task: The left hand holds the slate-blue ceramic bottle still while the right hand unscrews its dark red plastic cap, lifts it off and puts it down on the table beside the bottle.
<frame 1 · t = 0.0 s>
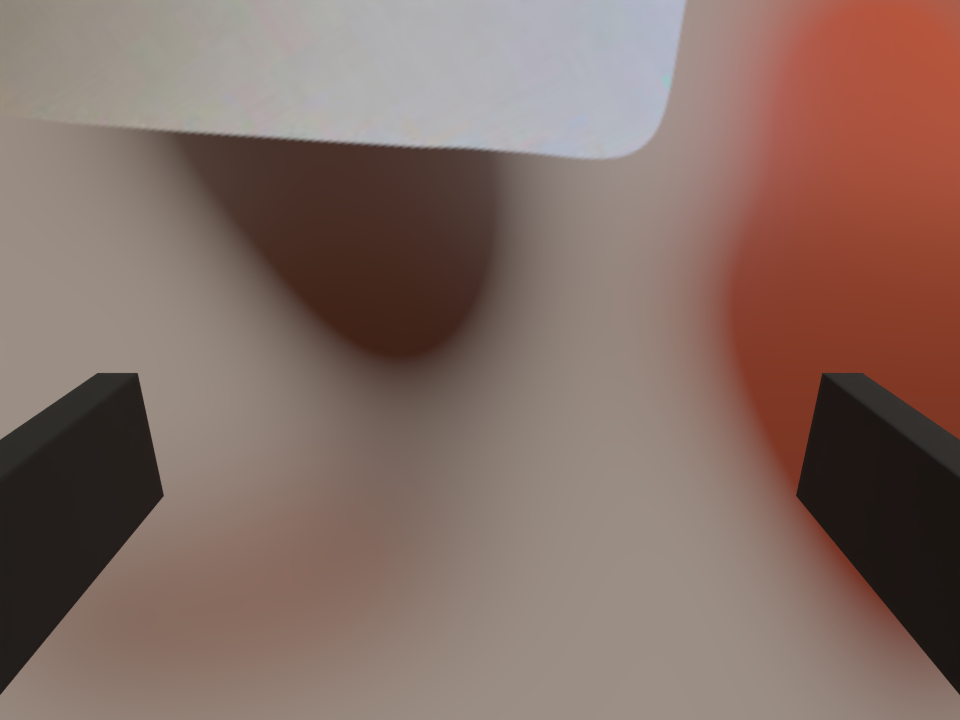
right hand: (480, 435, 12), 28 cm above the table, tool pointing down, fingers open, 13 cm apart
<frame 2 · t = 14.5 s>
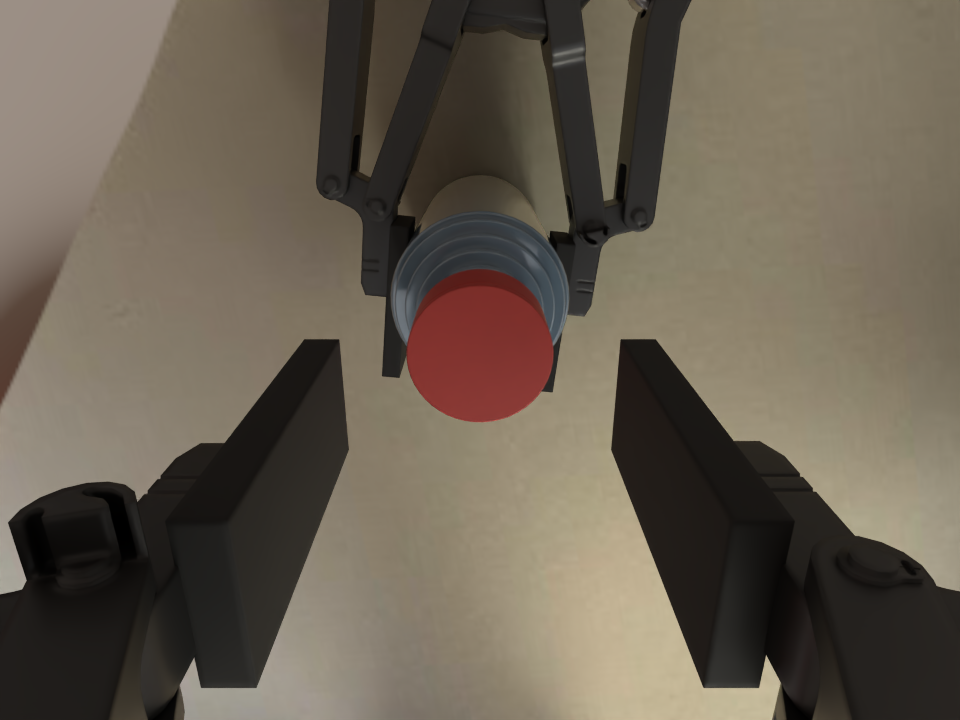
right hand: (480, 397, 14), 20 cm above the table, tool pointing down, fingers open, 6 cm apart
left hand: (468, 371, 29), fingers closed on bottle, 6 cm apart
bottle: (479, 235, 33), on the table, touching left hand
cap: (479, 352, 17), point 17 cm above the table, screwed on, not yet turned
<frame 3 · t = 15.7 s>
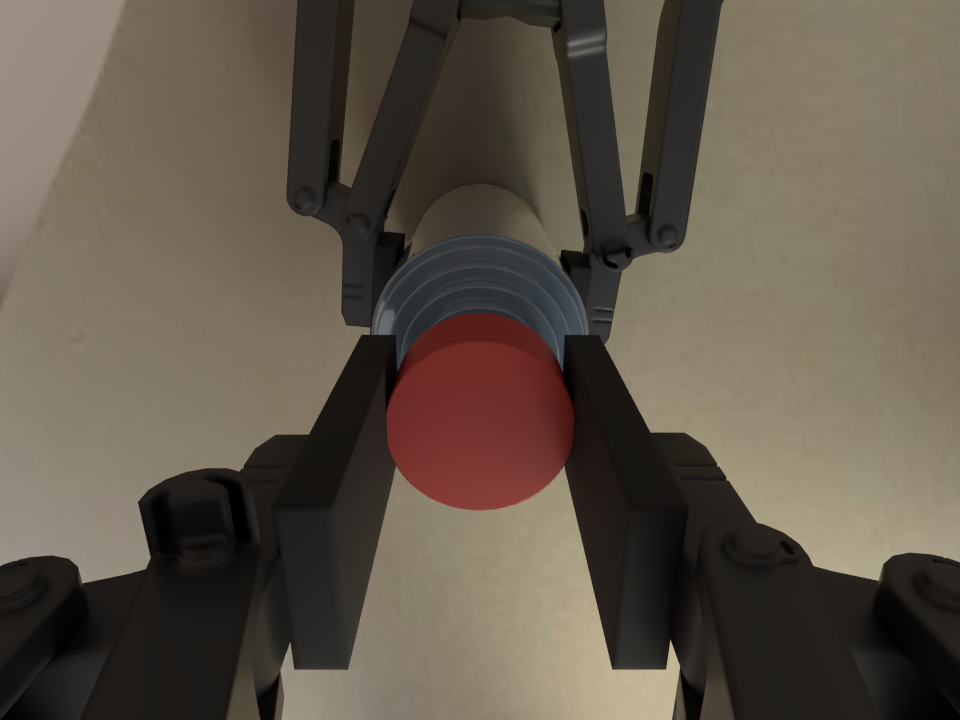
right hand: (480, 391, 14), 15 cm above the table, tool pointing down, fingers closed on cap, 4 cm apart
left hand: (466, 410, 25), fingers closed on bottle, 6 cm apart
bottle: (480, 251, 29), on the table, touching left hand
cap: (480, 423, 13), point 17 cm above the table, screwed on, not yet turned, touching right hand
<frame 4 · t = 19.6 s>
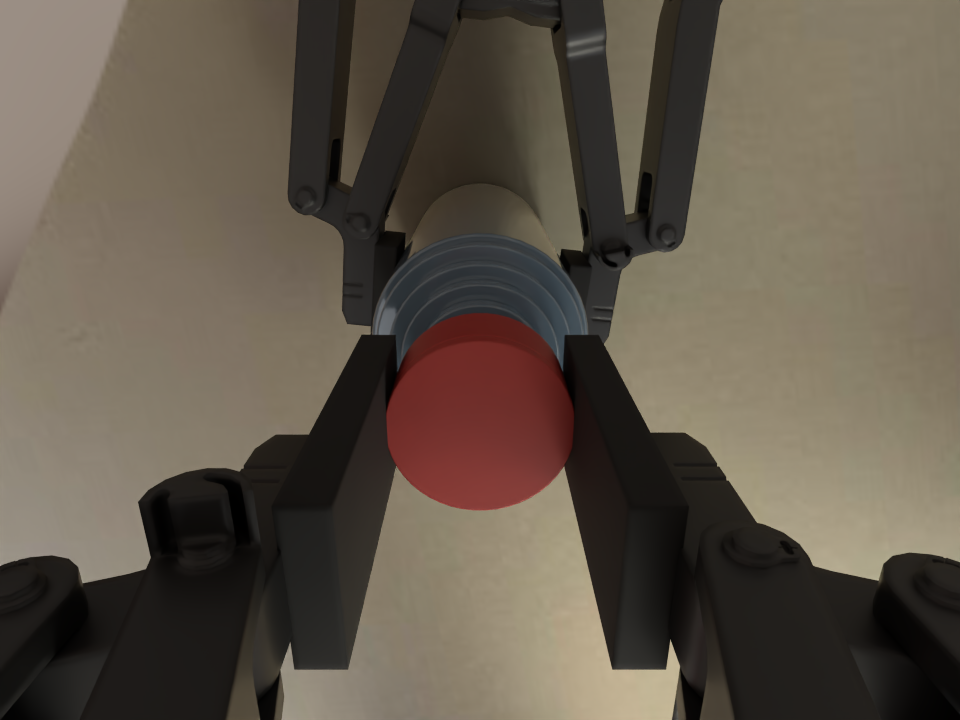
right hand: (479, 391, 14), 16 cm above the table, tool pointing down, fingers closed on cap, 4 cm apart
left hand: (466, 409, 25), fingers closed on bottle, 6 cm apart
bottle: (480, 250, 29), on the table, touching left hand
cap: (480, 423, 13), point 17 cm above the table, turned 136° so far, risen 0.1 cm, still on its thread, touching right hand
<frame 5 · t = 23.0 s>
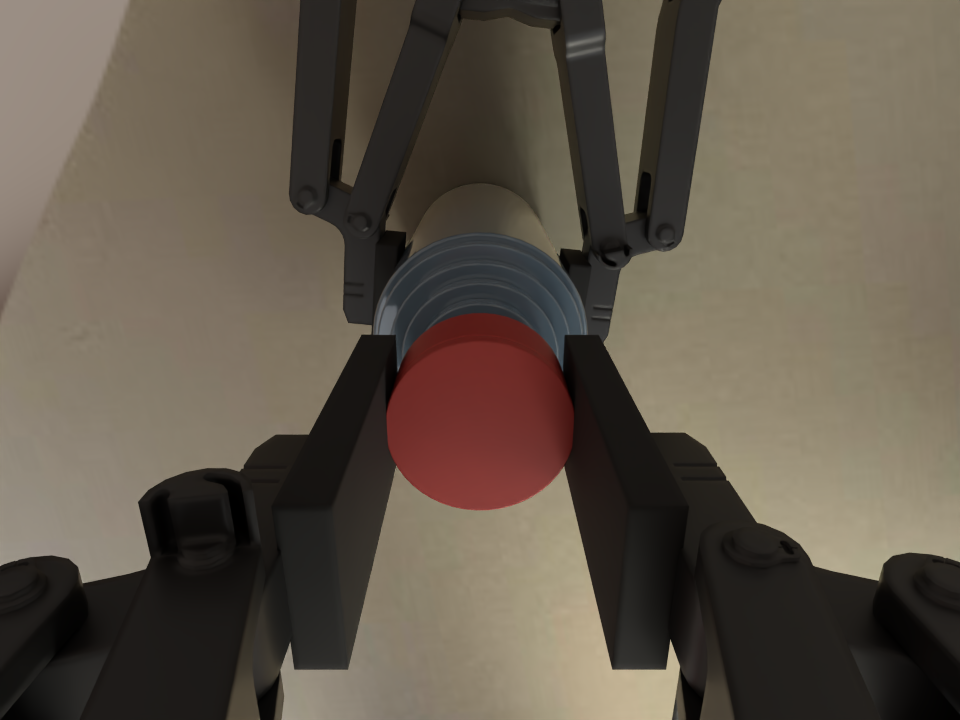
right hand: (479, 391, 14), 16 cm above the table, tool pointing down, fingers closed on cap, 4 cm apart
left hand: (467, 407, 25), fingers closed on bottle, 6 cm apart
bottle: (480, 250, 29), on the table, touching left hand
cap: (480, 423, 13), point 17 cm above the table, turned 273° so far, risen 0.3 cm, still on its thread, touching right hand
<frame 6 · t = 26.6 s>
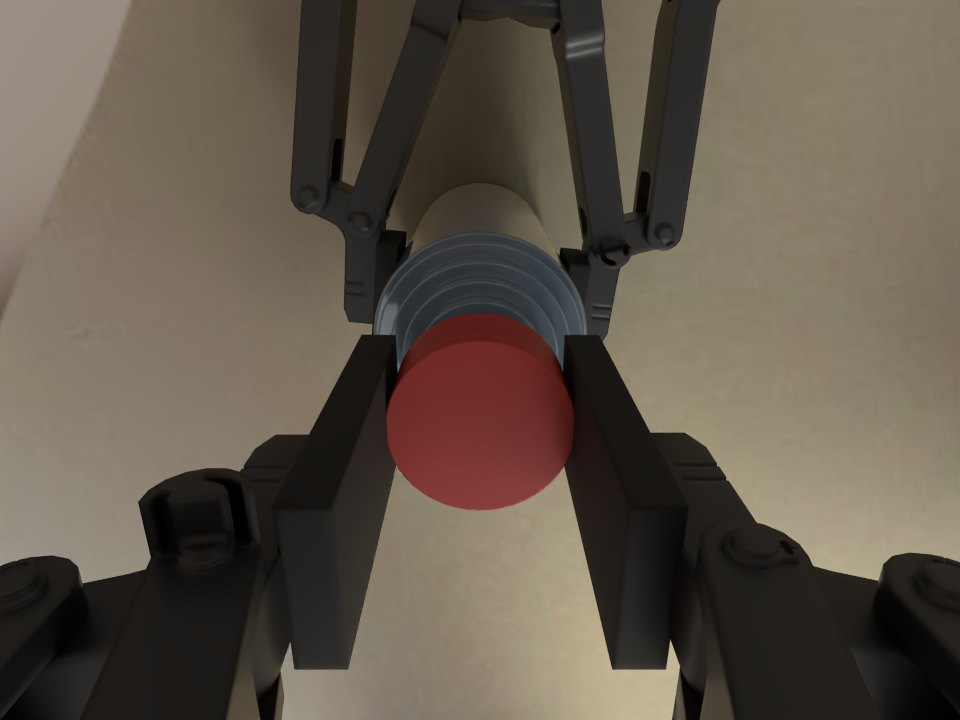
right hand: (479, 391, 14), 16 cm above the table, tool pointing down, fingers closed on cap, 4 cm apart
left hand: (467, 406, 25), fingers closed on bottle, 6 cm apart
bottle: (480, 249, 29), on the table, touching left hand
cap: (480, 423, 13), point 17 cm above the table, turned 409° so far, risen 0.4 cm, still on its thread, touching right hand
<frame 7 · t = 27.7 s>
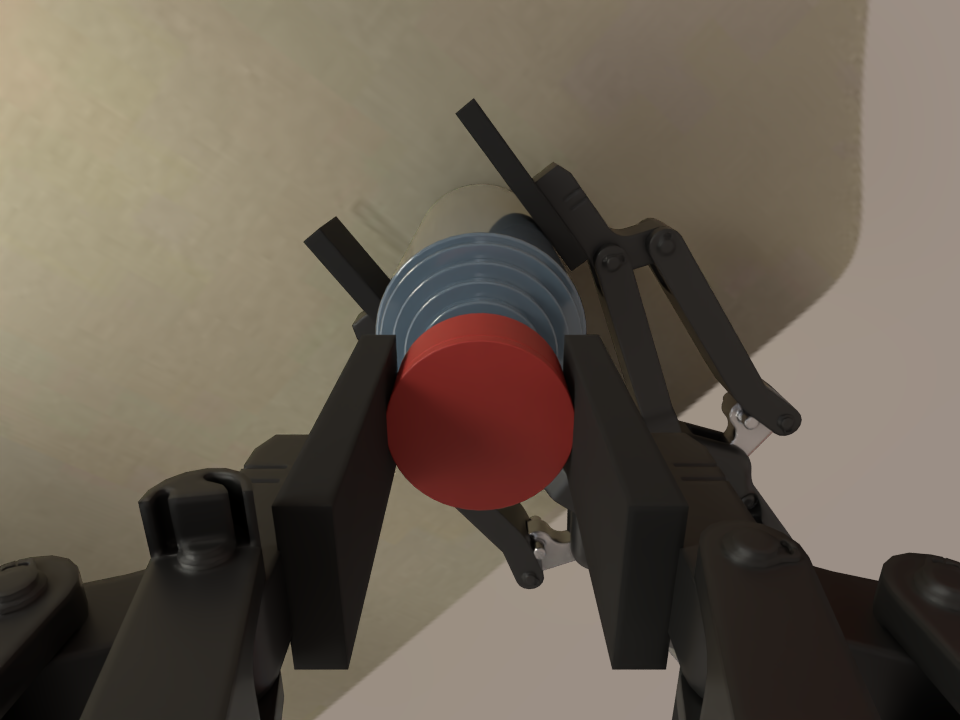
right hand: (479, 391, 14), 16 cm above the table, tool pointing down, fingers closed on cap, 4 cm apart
left hand: (391, 170, 22), fingers closed on bottle, 6 cm apart
bottle: (480, 250, 29), on the table, touching left hand
cap: (480, 423, 13), point 18 cm above the table, off its thread, touching right hand
when the right hand's fingers open (1 cm above the table, at t = 33.2 s): cap drops 1 cm, point 2 cm above the table.
when the left hand's fingers open (6 cm above the table, at t = 34.4 s): bottle stays where it is, on the table.
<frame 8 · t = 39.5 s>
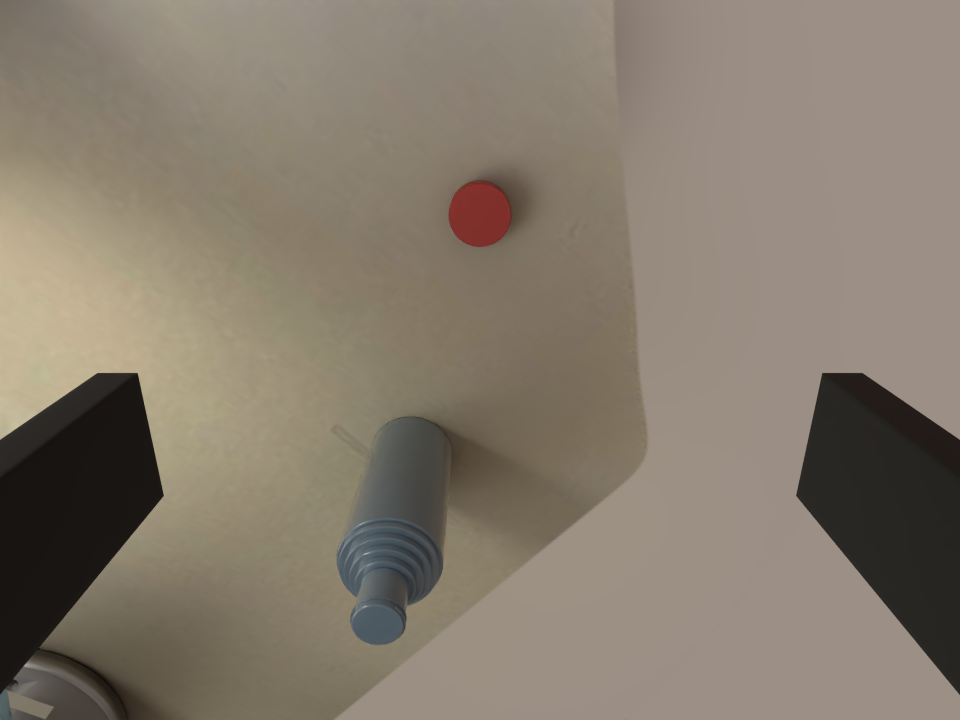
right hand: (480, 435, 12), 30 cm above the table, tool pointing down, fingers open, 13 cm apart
bottle: (411, 452, 47), on the table
cap: (479, 214, 39), point 2 cm above the table, off its thread
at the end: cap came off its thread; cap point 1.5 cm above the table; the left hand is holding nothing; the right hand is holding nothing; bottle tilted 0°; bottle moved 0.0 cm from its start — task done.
